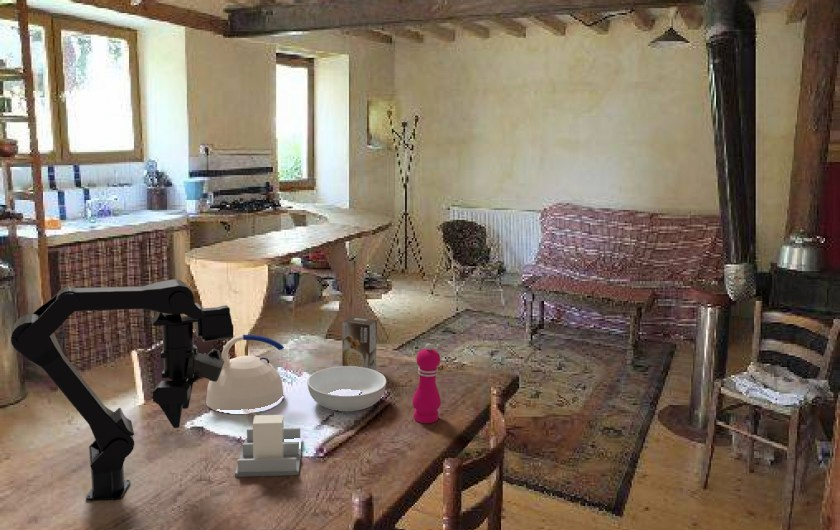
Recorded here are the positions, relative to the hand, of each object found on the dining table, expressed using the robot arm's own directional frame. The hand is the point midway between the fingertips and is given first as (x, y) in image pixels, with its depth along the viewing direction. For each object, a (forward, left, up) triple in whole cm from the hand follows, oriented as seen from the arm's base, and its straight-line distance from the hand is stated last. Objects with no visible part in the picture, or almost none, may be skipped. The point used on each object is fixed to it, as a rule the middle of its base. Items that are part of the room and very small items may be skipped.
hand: (181, 417), depth 132 cm
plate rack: (+7, -17, -13) cm, 22 cm away
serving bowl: (+36, -34, -13) cm, 51 cm away
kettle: (+40, -7, -13) cm, 43 cm away
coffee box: (+60, -38, -13) cm, 72 cm away
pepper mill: (+26, -54, -13) cm, 61 cm away
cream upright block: (+3, -17, -12) cm, 21 cm away
